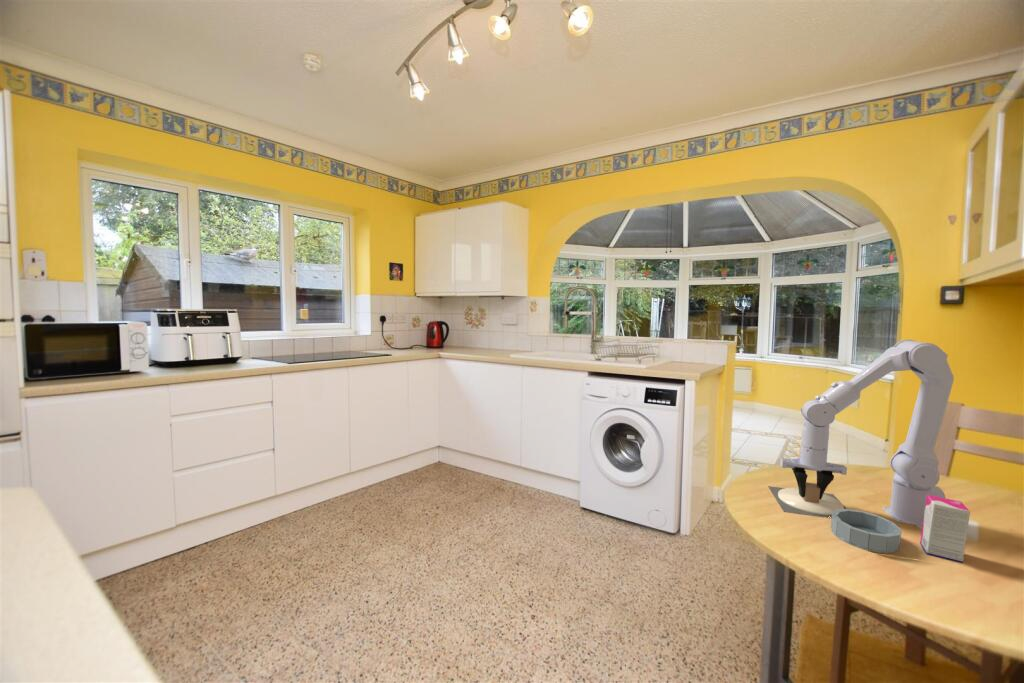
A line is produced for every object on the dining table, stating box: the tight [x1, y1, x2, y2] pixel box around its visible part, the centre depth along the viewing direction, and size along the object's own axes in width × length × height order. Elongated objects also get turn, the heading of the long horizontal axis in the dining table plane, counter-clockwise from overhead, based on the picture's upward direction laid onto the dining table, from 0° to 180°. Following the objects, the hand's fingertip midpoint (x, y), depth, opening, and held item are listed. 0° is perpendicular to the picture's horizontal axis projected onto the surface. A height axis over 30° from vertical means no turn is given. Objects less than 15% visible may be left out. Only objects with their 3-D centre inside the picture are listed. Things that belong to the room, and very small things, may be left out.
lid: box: [778, 481, 845, 516], centre depth 117 cm, size 14×14×5 cm
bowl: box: [830, 508, 903, 555], centre depth 100 cm, size 12×12×4 cm
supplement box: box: [919, 495, 971, 564], centre depth 95 cm, size 6×6×12 cm
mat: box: [768, 485, 847, 519], centre depth 117 cm, size 16×16×1 cm
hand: (810, 496), depth 117 cm, fingers closed on lid, 3 cm apart
